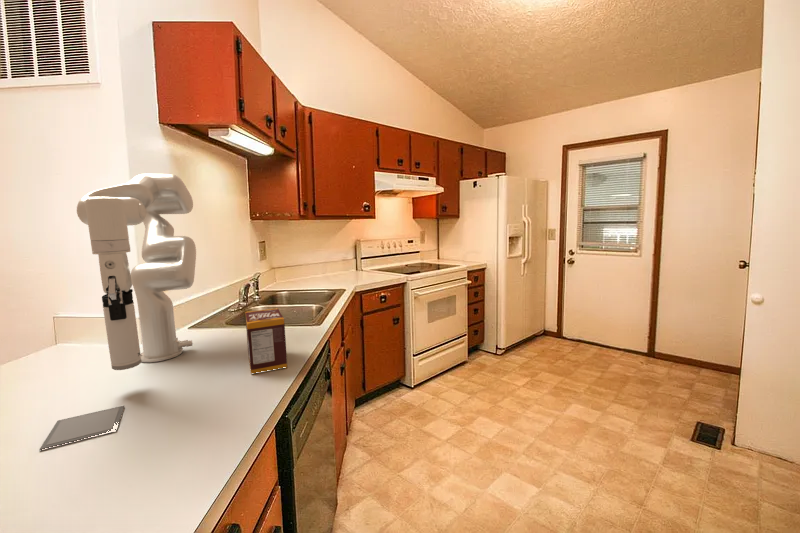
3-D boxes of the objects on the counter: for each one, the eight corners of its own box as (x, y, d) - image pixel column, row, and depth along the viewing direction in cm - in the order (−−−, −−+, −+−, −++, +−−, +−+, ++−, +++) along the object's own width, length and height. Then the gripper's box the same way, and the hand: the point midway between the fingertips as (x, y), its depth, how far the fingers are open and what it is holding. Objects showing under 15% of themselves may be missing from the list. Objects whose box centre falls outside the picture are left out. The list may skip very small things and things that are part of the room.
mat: (124, 407, 86) (124, 404, 86) (116, 431, 76) (116, 429, 76) (57, 422, 80) (57, 420, 80) (39, 451, 70) (39, 448, 70)
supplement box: (281, 352, 121) (278, 307, 119) (287, 368, 107) (284, 318, 105) (248, 357, 117) (244, 311, 115) (250, 375, 103) (246, 323, 101)
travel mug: (148, 361, 96) (139, 289, 93) (122, 372, 90) (111, 295, 87) (132, 358, 98) (122, 288, 95) (106, 368, 92) (94, 293, 89)
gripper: (125, 249, 84) (135, 322, 86) (133, 243, 98) (141, 306, 101) (83, 251, 80) (95, 327, 83) (98, 245, 94) (108, 310, 97)
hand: (120, 315), depth 92 cm, fingers closed on travel mug, 6 cm apart
